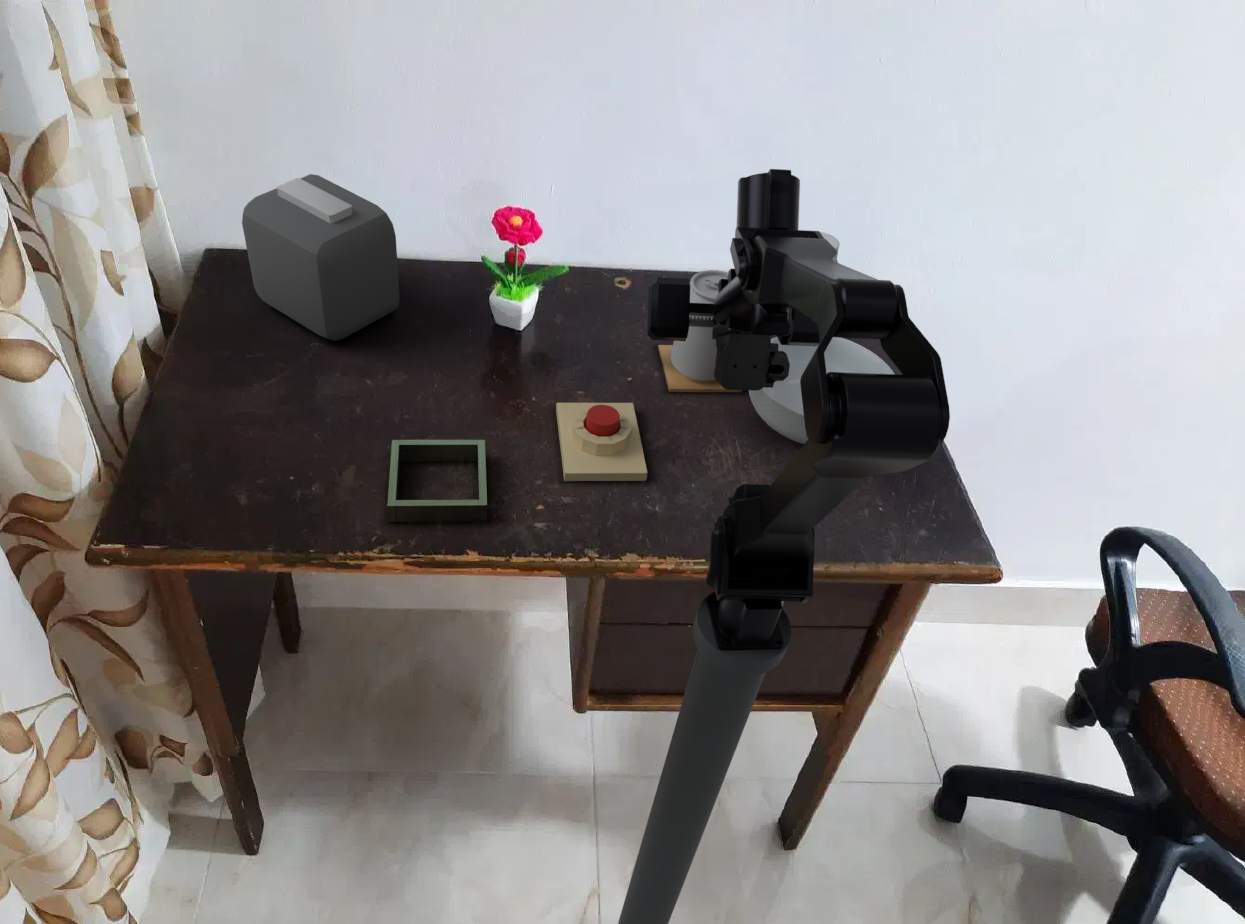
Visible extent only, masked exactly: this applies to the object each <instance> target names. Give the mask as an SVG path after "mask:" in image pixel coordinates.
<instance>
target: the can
mask: <svg viewBox="0 0 1245 924" xmlns="http://www.w3.org/2000/svg"><path fill="white" fill-rule="evenodd" d="M720 279H728V272H726V271H724V270H718V269H707V270H706V269H705V270H701V271H699V272H697V273H695V274H693V276H692V277H691V279H690V303H707V304H714V301H715V298H716V296H717V295H718V288H719V280H720ZM690 317H691V316H689V318H690ZM694 317H696V319H697V317H699V318H700V319H701V317H703V319H705V317H707V320H708V318H709V317H710V318H711V320H712V318H713V317H714V316H692V319H693V318H694ZM712 329H713V327H689V331H688V336H687V339H686V341H673V342H672V343H673V344H672V345H673V349H672V354H671V361H672V364H673V366H674V367H675V368H676V369H677V370H678V371H679V372H680V373H681V374H682V375H683V376H685V377H687V378H689V379H691V380H695V381H700V382H708V381H713V380H715V378H714V369H715V363H716V354H717V347H716V339H712Z"/></svg>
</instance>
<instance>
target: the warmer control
mask: <svg viewBox="0 0 1245 924" xmlns="http://www.w3.org/2000/svg"><path fill="white" fill-rule="evenodd" d="M596 405H608V406H611V407H613V408H615V409H616V410H617V411H618V413H619V415H620V418H619V425H618V430H617V432H616V433H615V434H614V435H612V436H609V437H599V436H596V435H593V434H590V433H589V432H588V431H587V429H586V419H587V412H588V410H589V409H590V408H591V407H593V406H596ZM555 413H556V421H557V431H558V439H559V447H560V455H561V464H562V474H563V481H564V482H646V481H647V479H648V469H647V464H646V460H645V453H644V449H643V444H642V439H641V435H640V429H639V424H638V419H637V415H636V411H635V405H634V402H556V408H555Z"/></svg>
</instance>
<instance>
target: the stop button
mask: <svg viewBox="0 0 1245 924" xmlns="http://www.w3.org/2000/svg"><path fill="white" fill-rule="evenodd" d="M619 418H620V415H619V413H618V411H617V410H616V409H615V408H613V407H611V406H608V405H596V406H593V407H591V408H590V409H589V410H588V412H587V419H586V429H587V431H588V432H589V433H590V434H593V435H596V436H599V437H609V436H612V435H614V434H615V433H616V432H617V430H618V425H619Z"/></svg>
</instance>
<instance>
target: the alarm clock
mask: <svg viewBox="0 0 1245 924" xmlns="http://www.w3.org/2000/svg"><path fill="white" fill-rule="evenodd" d="M241 225H242V231H243V236H244V241H245V246H246V252H247V257H248V262H249V267H250V272H251V277H252V283H253V284H252V285H253V288H254V290H255V292H256V294H257V296H258V297H259V299H261V301H263V302H264V303H265V304H266V305H269V306H270V307H272V308H274V309H275V310H277V311H279V312H280V313H282V314H283V315H285V316H287V317H289V318H290V319H291V320H293V321H295V322H296V323H298V324H300V325H301V326H302V327H305V328H306V329H308V330H310V331H311V332H313V333H314V334H316V335H318V336H320V337H321V338H323V339H326V340H330V341H333V342H335V341H340V340H343V339H345V338H347V337H349V336H351V335H353V334H355V333H357V332H359V331H360V330H362V329H364V328H365V327H367V326H369V325H370V324H372V323H374V322H376V321H378V320H380V319H381V318H384V317H385V316H387V315H389V314H390V313H392V312H394V311H395V310H397V309H399V306H400V301H401V299H400V298H401V297H400V296H401V295H400V281H399V265H398V249H397V237H396V236H397V235H396V232H395V231H396V230H395V227H394V224H393V221H392V220H391V219H390V217H389V215H388V213H387V212H386V211H385V210H384V209H382V208H381V207H380V206H379V205H377V204H376V203H374V202H372V201H370V200H367V199H366V198H363V197H361V196H360V195H358V194H356V193H354V192H352V191H350V190H348V189H346V188H344V187H342V186H340V185H338V184H337V183H334V182H332V181H331V180H328V179H326V178H324V177H323V176H321V175H319V174H313V173H310V174H307V175H305V176H303V177H300V178H299V177H296V178H294V179H291V180H288V181H286V182H284V183H282V184H279V185H276V188H273V189H271V190H269V191H267V192H264V193H261V194H260V195H256V196H254V197H253V198H252V199H251V200H250V201H248V202H247V204H246V205H245V206H244V208H243V211H242V217H241Z"/></svg>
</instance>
